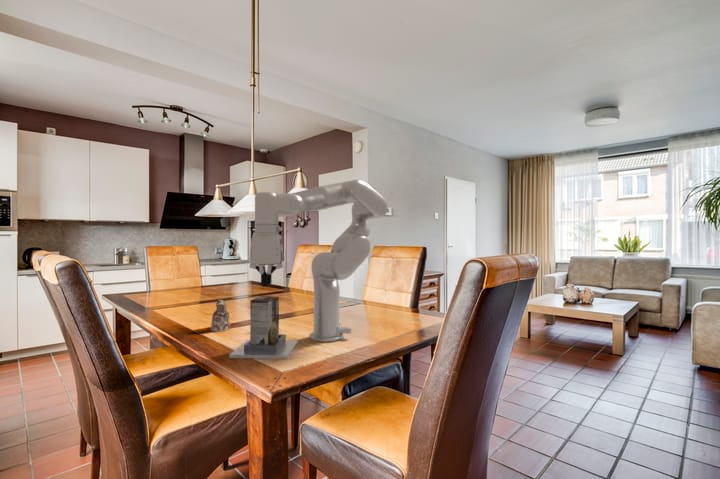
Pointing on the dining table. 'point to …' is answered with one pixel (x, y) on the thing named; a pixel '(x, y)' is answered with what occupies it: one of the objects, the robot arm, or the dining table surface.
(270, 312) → the coffee box
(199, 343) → the dining table surface
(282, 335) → the locating jig
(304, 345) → the dining table surface
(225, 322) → the figurine
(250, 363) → the dining table surface
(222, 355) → the dining table surface
